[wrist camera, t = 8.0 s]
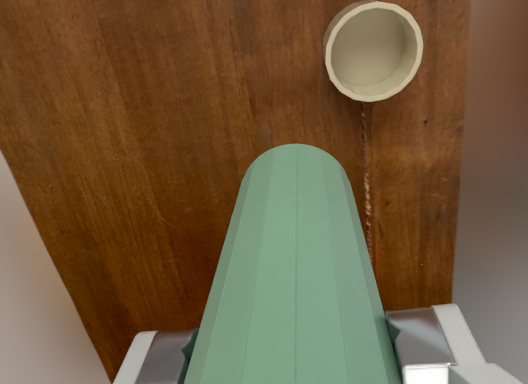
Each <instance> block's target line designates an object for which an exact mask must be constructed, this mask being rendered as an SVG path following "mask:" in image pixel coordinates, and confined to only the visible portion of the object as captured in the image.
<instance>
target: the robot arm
mask: <svg viewBox="0 0 528 384" xmlns="http://www.w3.org/2000/svg"><path fill="white" fill-rule="evenodd" d="M385 316H386V323H387V327H388V331H389V335H390V339H391V343H392V346H393V350H394V354H395V358H396V362H397V366H398V370H399V374H400V378H401V381H402V384H524V383H522V382H521V381H519V380H518V379H516V378H515V377H514V376H512V375H511V374H509V373H508V372H506V371H505V370H503V369H502V368H500V367H499V366H498V365H496V364H495V363H486V361H485V359H484V358H483V355H482V354H481V351H480V349H479V347H478V345H477V343H476V341H475V339H474V337H473V335H472V333H471V332H470V330H469V327H468V326H467V323H466V321H465V320H464V317H463V315H462V313H461V311H460V309H459V307H458V306H457V305H456V304H454V303H453V304H444V305H434V306H431V307H430V306H426V307H416V308H405V309H395V310H386V313H385ZM198 332H199V329H198V328H186V329H170V330H159V331H146V332H140V333H138V334H137V335H136V336H135V338H134V340H133V342H132V344H131V346H130V348H129V351H128V353H127V355H126V357H125V359H124V361H123V363H122V365H121V368H120V370H119V372H118V374H117V376H116V378H115V380H114V382H113V384H184V381H185V378H186V374H187V371H188V367H189V364H190V360H191V357H192V353H193V350H194V346H195V343H196V339H197V336H198Z"/></svg>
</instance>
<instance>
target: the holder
mask: <svg viewBox="0 0 528 384" xmlns="http://www.w3.org/2000/svg"><path fill="white" fill-rule="evenodd" d="M422 51H423V40H422V36H421V31H420V28H419V26H418V24H417V23H416V21H415V20H414V18H413V17H412V16H411V14H410V13H409V12H407V11H405V10H404V9H402V8H401V7H399V6H398V5H396V4H392V3H388V2H382V1H376V0H363V1H359V2H355V3H353V4H350V5H348V6H347V7H345V8H344V9H342V10H341V11H340V12H339V13H338V14H337V15H336V16H335V17H334V18H333V19H332V21H331V22H330V24H329V26H328V28H327V30H326V32H325V35H324V39H323V59H324V62H325V65H326V68H327V71H328V74H329V77H330V79H331V81H332V82H333V84H334V85H335V86H336V87H337V89H338V90H339V91H340V92H341V93H343V94H345V95H347V96H348V97H350V98H352V99H354V100H359V101H365V102H373V101H378V100H384V99H387V98H389V97H390V96H392V95H394V94H396V93H398V92H400V91H401V90H402V89H403V88H404V87H405V86H406V85H407V84H408V83H409V82H410V81H411V80H412V79H413V77H414V75H415V73H416V71H417V69H418V67H419V65H420V63H421V58H422Z"/></svg>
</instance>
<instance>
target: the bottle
mask: <svg viewBox="0 0 528 384" xmlns="http://www.w3.org/2000/svg"><path fill="white" fill-rule="evenodd" d="M184 384H402V381H401V378H400V374H399V370H398V366H397V362H396V358H395V354H394V350H393V346H392V343H391V339H390V335H389V331H388V327H387V323H386V319H385V315H384V312H383V308H382V304H381V300H380V296H379V292H378V288H377V285H376V281H375V277H374V273H373V269H372V265H371V261H370V257H369V254H368V250H367V246H366V242H365V238H364V234H363V230H362V227H361V223H360V219H359V215H358V211H357V207H356V203H355V200H354V196H353V192H352V188H351V184H350V182H349V180H348V177H347V175H346V173H345V171H344V169H343V167H342V166H341V165H340V163H339V162H338V161H337V160H336V159H335V158H334V157H332V156H331V155H330V154H328V153H327V152H325V151H323V150H321V149H319V148H316V147H313V146H310V145H304V144H287V145H282V146H278V147H275V148H272V149H270V150H268V151H266V152H265V153H263V154H262V155H260V156H259V157H258V158H257V159H256V160H255V161H254V162H253V163H252V164H251V165H250V167H249V168H248V170H247V171H246V174H245V176H244V178H243V180H242V183H241V187H240V190H239V193H238V197H237V200H236V204H235V207H234V211H233V214H232V218H231V221H230V225H229V228H228V232H227V235H226V239H225V242H224V246H223V249H222V253H221V256H220V259H219V263H218V266H217V270H216V273H215V277H214V280H213V284H212V287H211V291H210V294H209V298H208V301H207V305H206V308H205V312H204V315H203V318H202V322H201V325H200V329H199V332H198V336H197V339H196V343H195V346H194V350H193V353H192V357H191V360H190V364H189V367H188V371H187V374H186V378H185V381H184Z"/></svg>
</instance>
